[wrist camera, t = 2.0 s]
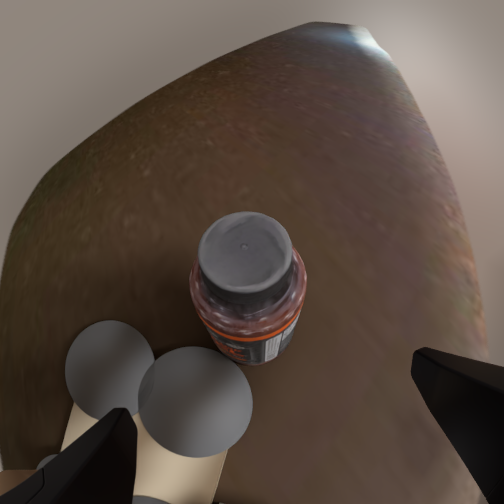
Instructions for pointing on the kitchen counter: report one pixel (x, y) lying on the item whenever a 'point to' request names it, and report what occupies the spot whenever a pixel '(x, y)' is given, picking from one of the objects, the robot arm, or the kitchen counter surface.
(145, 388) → the board
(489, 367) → the robot arm
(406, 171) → the kitchen counter surface
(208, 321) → the supplement bottle
